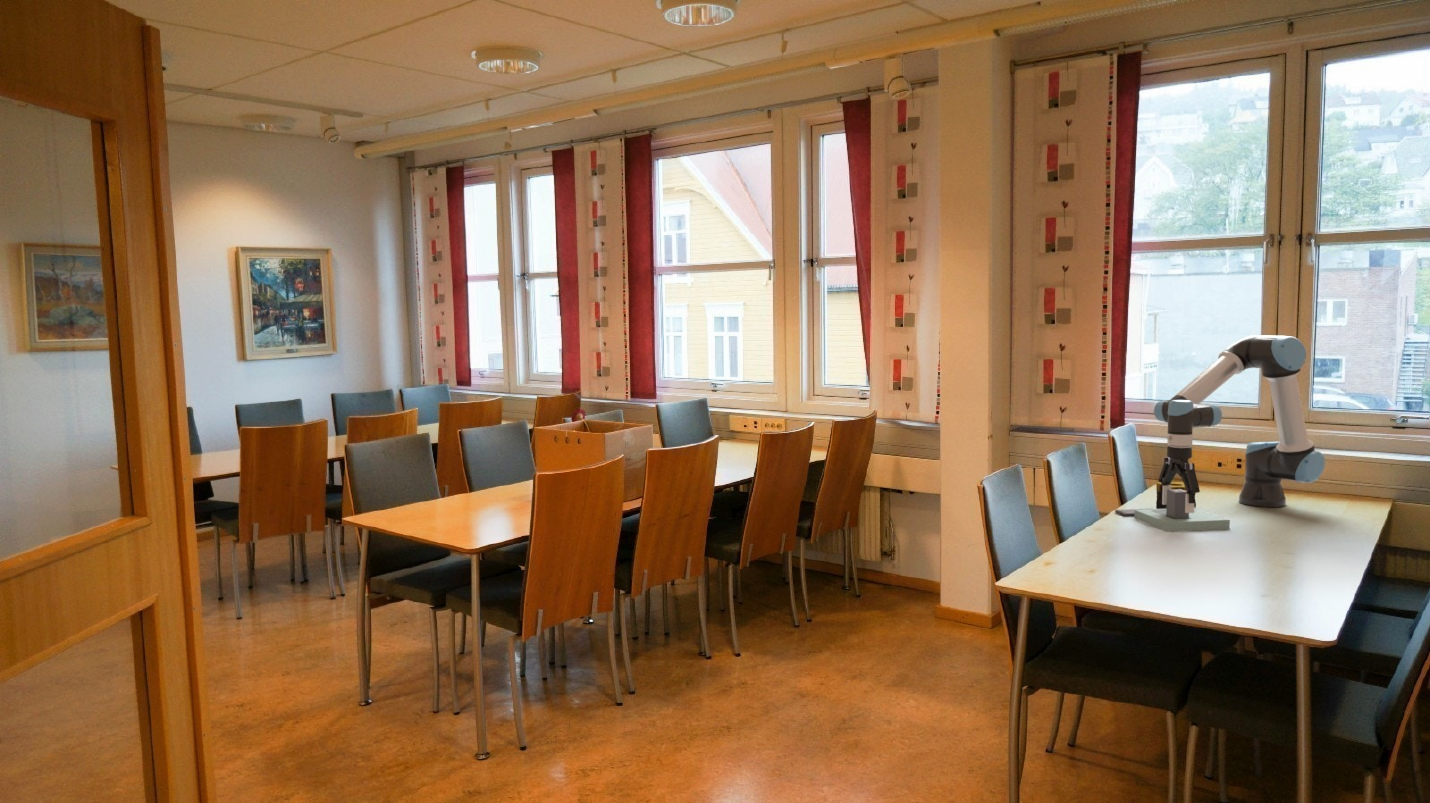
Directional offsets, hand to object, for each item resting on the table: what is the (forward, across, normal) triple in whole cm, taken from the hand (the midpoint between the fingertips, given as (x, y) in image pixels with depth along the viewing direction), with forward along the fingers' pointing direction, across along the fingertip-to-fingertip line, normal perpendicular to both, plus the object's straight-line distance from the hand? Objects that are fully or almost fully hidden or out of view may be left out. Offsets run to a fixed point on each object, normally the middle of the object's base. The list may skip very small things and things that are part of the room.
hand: (1177, 508), depth 321 cm
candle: (+6, -21, +12) cm, 25 cm away
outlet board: (+6, -3, +3) cm, 7 cm away
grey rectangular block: (+6, 0, 0) cm, 6 cm away
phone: (+6, -19, -3) cm, 20 cm away
